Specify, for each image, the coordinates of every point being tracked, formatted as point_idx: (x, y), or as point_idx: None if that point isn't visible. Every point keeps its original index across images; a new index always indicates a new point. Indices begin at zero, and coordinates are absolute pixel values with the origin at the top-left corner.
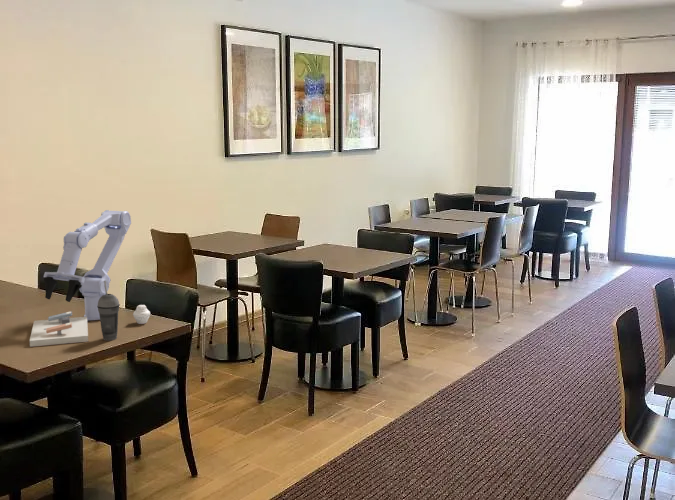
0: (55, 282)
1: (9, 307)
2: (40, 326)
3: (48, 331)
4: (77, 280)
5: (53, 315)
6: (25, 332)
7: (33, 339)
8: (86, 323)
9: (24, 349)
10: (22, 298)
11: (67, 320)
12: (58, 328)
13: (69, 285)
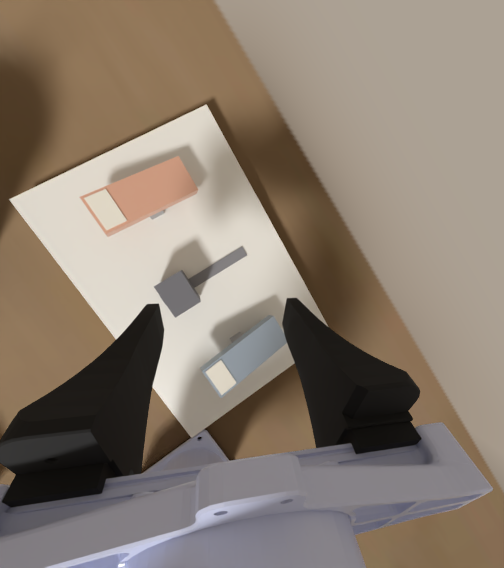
0: (323, 443)
1: (476, 463)
2: (275, 279)
3: (170, 161)
4: (24, 494)
5: (274, 351)
6: (311, 264)
7: (202, 121)
8: None
9: (204, 86)
10: (491, 543)
11: (161, 282)
12: (134, 176)
13: (111, 378)
